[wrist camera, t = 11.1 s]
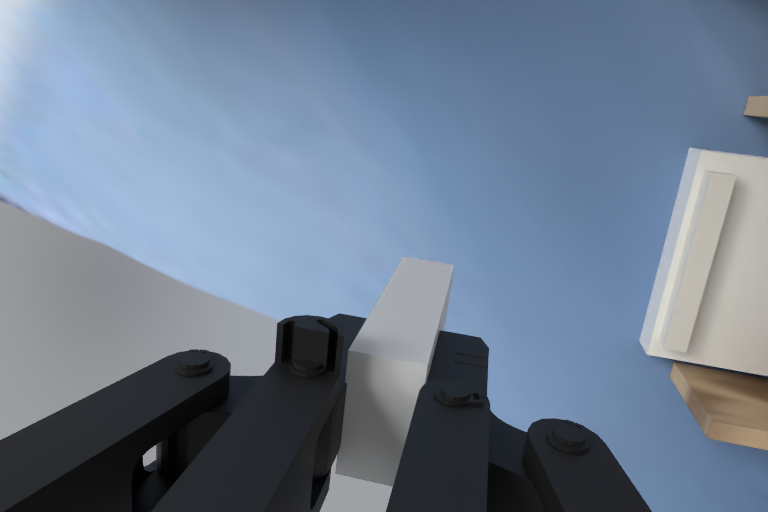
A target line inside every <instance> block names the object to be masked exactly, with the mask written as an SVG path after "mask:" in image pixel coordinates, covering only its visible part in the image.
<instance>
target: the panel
mask: <svg viewBox="0 0 768 512" xmlns="http://www.w3.org/2000/svg"><path fill="white" fill-rule="evenodd" d="M639 341H640V343H641V345H642V347H643V348H644V350H645V352H646V354H647V355H652V356H658V357H663V358H669V359H674V360H680V361H685V362H691V363H697V364H702V365H708V366H713V367H719V368H724V369H730V370H736V371H741V372H747V373H752V374H758V375H764V376H768V157H763V156H755V155H747V154H739V153H731V152H723V151H715V150H707V149H699V148H691V147H689V151H688V155H687V159H686V163H685V166H684V170H683V174H682V178H681V182H680V186H679V190H678V193H677V197H676V201H675V205H674V209H673V213H672V217H671V221H670V224H669V228H668V232H667V236H666V240H665V244H664V248H663V251H662V255H661V259H660V263H659V267H658V271H657V275H656V278H655V282H654V286H653V290H652V294H651V298H650V302H649V305H648V309H647V313H646V317H645V321H644V325H643V329H642V333H641V336H640V340H639Z"/></svg>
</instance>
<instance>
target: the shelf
mask: <svg viewBox="0 0 768 512" xmlns="http://www.w3.org/2000/svg"><path fill="white" fill-rule="evenodd" d="M743 115H747V116H756V117H764V118H768V96H748V100H747V104H746V107H745V111H744V114H743ZM670 378H671V379H672V381H673V383H674V384H675V386H676V388H677V389H678V391H679V393H680V394H681V396H682V397H683V399H684V401H685V402H686V404H687V406H688V407H689V409H690V411H691V412H692V414H693V416H694V417H695V419H696V420H697V422H698V424H699V425H700V427H701V429H702V430H703V432H704V434H705V435H706V437H707V438H708V439H713V440H718V441H723V442H728V443H733V444H738V445H743V446H748V447H754V448H759V449H764V450H768V379H765V378H760V377H754V376H749V375H743V374H738V373H732V372H727V371H721V370H716V369H710V368H705V367H699V366H694V365H688V364H683V363H677V362H673V366H672V370H671V373H670Z"/></svg>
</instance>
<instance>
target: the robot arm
mask: <svg viewBox="0 0 768 512" xmlns="http://www.w3.org/2000/svg"><path fill="white" fill-rule="evenodd" d="M453 270H454V265H453V264H447V263H441V262H435V261H429V260H423V259H417V258H411V257H405V256H404V257H403V258H402V260H401V262H400V263H399V265H398V267H397V268H396V270H395V272H394V274H393V275H392V277H391V279H390V280H389V282H388V284H387V285H386V287H385V289H384V291H383V292H382V294H381V296H380V297H379V299H378V301H377V302H376V304H375V306H374V308H373V309H372V311H371V313H370V314H369V316H368V318H361V317H356V316H350V315H345V314H337V315H335V316H333V317H331V318H324V317H319V316H310V315H305V316H293V317H290V318H286V319H283V320H282V321H280V322H279V323H277V338H276V354H275V363H274V364H273V365H272V366H271V367H270V369H269V370H268V371H267V372H266V373H265V375H264V376H230V368H231V366H230V365H231V364H230V362H229V361H228V359H227V358H226V357H223V356H222V355H220V354H218V353H214V352H210V351H207V350H200V351H199V350H189V351H185V352H179V353H176V354H173V355H170V356H167V357H165V358H163V359H161V360H159V361H157V362H155V363H153V364H151V365H149V366H147V367H145V368H143V369H141V370H139V371H137V372H135V373H133V374H131V375H129V376H127V377H125V378H123V379H121V380H120V381H117V382H115V383H114V384H111V385H110V386H107V387H105V388H103V389H101V390H99V391H98V392H96V393H94V394H91V395H89V396H88V397H86V398H84V399H82V400H79V401H77V402H75V403H73V404H71V405H70V406H68V407H66V408H64V409H62V410H60V411H58V412H56V413H54V414H52V415H50V416H48V417H46V418H44V419H42V420H40V421H38V422H36V423H34V424H32V425H30V426H28V427H26V428H24V429H22V430H20V431H18V432H16V433H14V434H12V435H10V436H8V437H6V438H4V439H2V440H0V512H319V511H320V509H321V507H322V504H323V502H324V500H325V497H326V495H327V493H328V490H329V483H330V474H331V466H332V464H333V462H334V460H335V458H336V455H337V464H336V474H340V475H344V476H349V477H353V478H358V479H362V480H367V481H371V482H375V483H380V484H384V485H389V486H393V488H392V492H391V496H390V499H389V503H388V507H387V510H386V512H652V511H651V510H650V508H649V507H648V505H647V504H646V502H645V501H644V500H643V498H642V497H641V495H640V494H639V492H638V491H637V489H636V488H635V486H634V485H633V483H632V482H631V480H630V479H629V477H628V476H627V474H626V473H625V472H624V470H623V469H622V467H621V466H620V464H619V463H618V461H617V460H616V458H615V457H614V455H613V454H612V452H611V451H610V449H609V448H608V447H607V445H606V444H605V442H604V441H603V440H602V439H601V438H600V437H599V436H598V435H597V434H595V433H594V432H592V431H590V430H589V429H587V428H585V427H584V426H582V425H580V424H578V423H574V422H572V421H569V420H560V419H555V418H554V419H541V420H538V421H536V422H533V423H532V424H531V426H530V427H529V429H528V432H524V431H522V430H519V429H517V428H515V427H512V426H510V425H508V424H506V423H505V422H503V421H502V420H500V419H499V418H497V417H496V416H495V415H494V414H493V413H492V412H491V410H490V402H489V399H488V397H487V379H488V354H489V348H488V347H487V345H486V344H485V343H484V342H483V340H482V339H481V338H480V337H474V336H469V335H463V334H458V333H452V332H447V331H444V327H445V321H446V314H447V308H448V302H449V295H450V289H451V282H452V276H453ZM155 445H156V446H157V447H156V449H157V451H156V460H155V461H154V462H152V463H151V464H149V465H147V466H145V467H144V466H143V455H144V454H145V453H146V452H147V451H148V450H149V449H150V448H152V447H153V446H155ZM337 453H338V454H337Z"/></svg>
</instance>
